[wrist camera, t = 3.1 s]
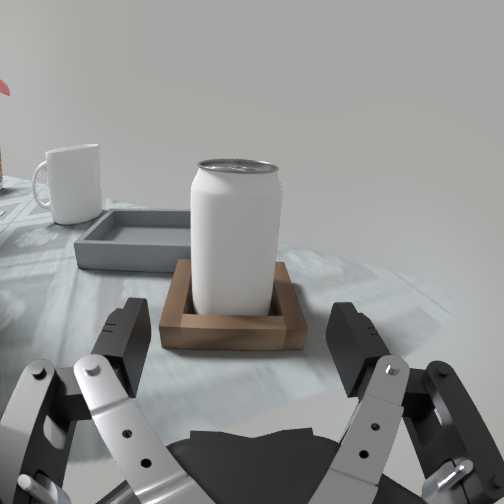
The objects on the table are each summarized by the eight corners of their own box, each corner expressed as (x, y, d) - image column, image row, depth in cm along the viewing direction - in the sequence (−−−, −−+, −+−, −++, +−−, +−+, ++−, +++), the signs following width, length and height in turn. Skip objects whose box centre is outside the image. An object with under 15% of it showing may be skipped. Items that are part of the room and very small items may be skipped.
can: (228, 281, 29) (234, 156, 24) (284, 307, 26) (302, 167, 21) (177, 308, 25) (172, 163, 20) (235, 345, 21) (244, 176, 16)
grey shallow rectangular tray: (78, 268, 29) (73, 243, 28) (112, 228, 40) (110, 208, 39) (201, 273, 30) (200, 246, 29) (207, 230, 41) (208, 209, 40)
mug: (112, 215, 45) (108, 144, 40) (46, 235, 37) (37, 156, 32) (90, 204, 50) (87, 143, 45) (34, 221, 42) (27, 155, 37)
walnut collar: (161, 347, 20) (158, 326, 19) (179, 277, 29) (178, 259, 28) (302, 349, 21) (307, 328, 20) (281, 279, 30) (283, 261, 29)
